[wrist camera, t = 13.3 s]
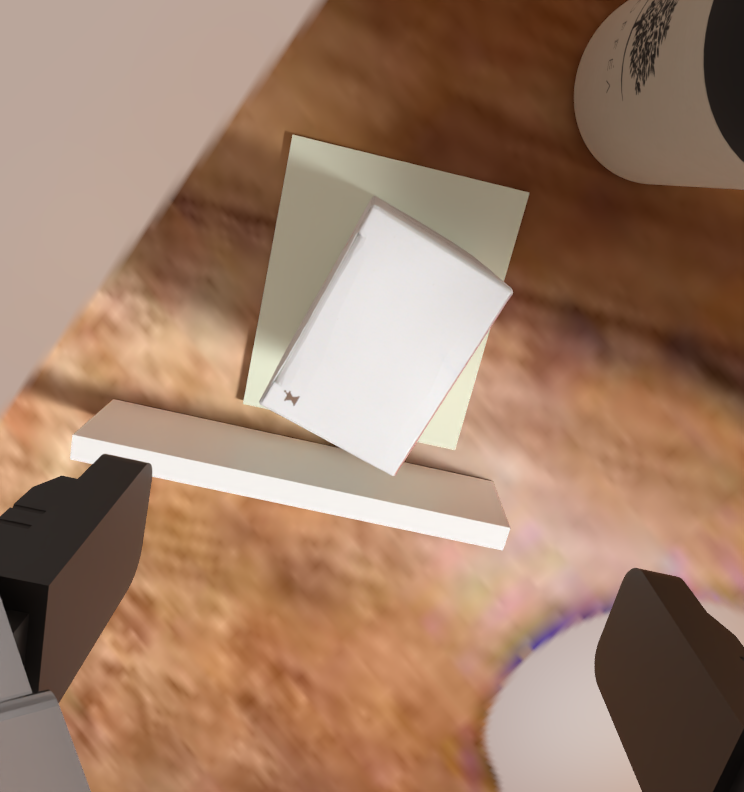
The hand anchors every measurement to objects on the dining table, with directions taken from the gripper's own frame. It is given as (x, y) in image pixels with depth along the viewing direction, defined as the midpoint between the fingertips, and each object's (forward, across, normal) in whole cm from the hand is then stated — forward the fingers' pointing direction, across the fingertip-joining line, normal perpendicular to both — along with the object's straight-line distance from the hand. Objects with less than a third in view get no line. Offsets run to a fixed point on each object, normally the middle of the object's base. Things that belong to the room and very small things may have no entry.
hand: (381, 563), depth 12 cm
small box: (+23, 0, 0) cm, 23 cm away
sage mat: (+24, 0, 0) cm, 24 cm away
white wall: (+24, +2, +8) cm, 25 cm away
